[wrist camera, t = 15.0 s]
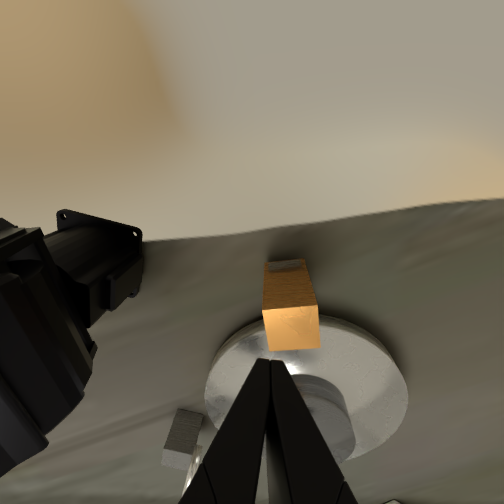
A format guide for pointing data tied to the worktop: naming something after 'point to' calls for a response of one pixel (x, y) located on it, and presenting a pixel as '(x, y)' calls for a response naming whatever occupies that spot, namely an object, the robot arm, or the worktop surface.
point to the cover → (327, 414)
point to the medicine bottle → (393, 502)
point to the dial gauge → (183, 444)
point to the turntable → (312, 357)
